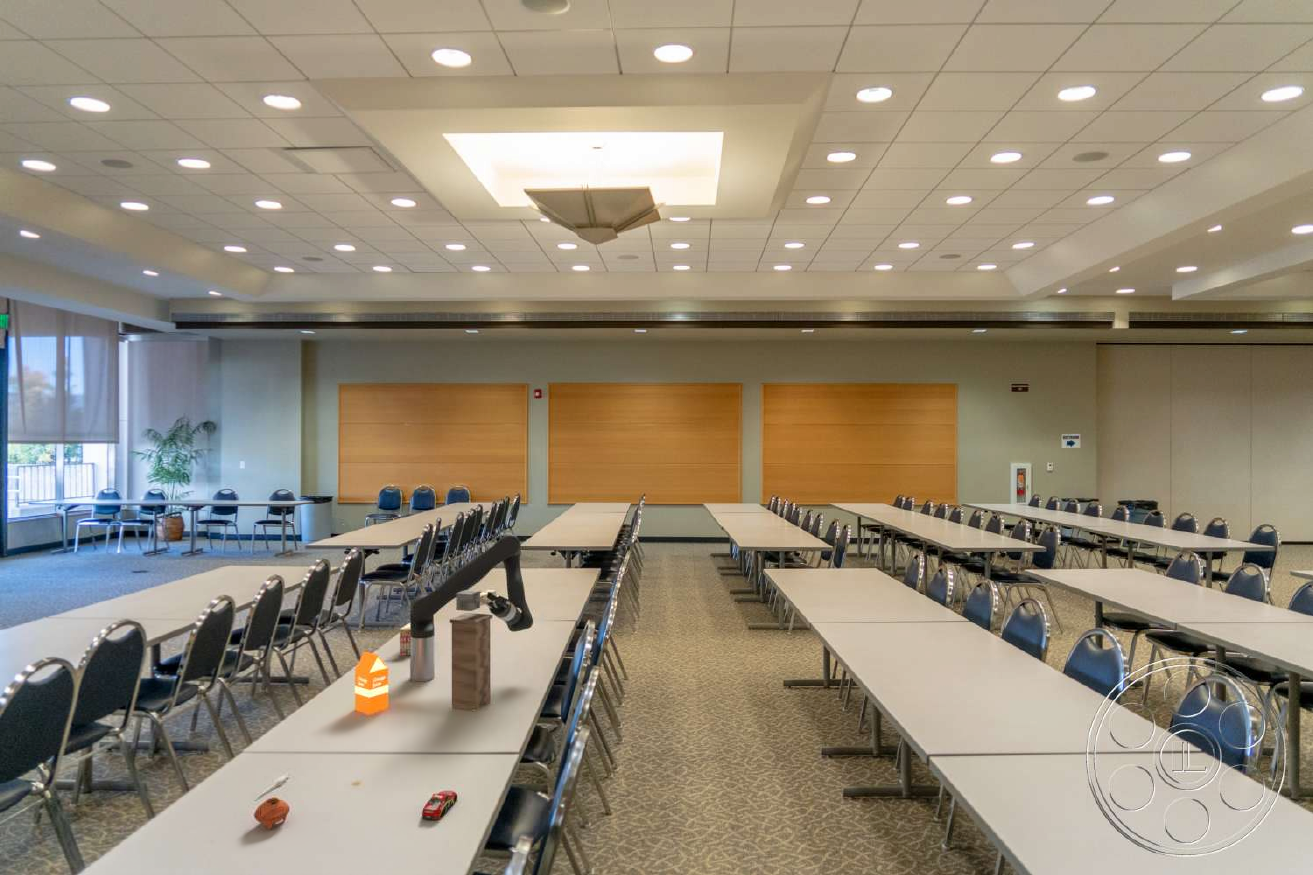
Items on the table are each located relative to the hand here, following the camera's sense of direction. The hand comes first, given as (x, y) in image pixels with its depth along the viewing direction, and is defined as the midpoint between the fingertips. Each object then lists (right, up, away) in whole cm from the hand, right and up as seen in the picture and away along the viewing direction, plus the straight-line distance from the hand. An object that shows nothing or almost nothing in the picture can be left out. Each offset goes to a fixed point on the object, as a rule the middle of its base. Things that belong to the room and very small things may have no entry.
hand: (483, 594), depth 285 cm
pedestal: (-3, -39, -8) cm, 40 cm away
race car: (+8, -39, -87) cm, 95 cm away
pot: (-32, -39, -95) cm, 107 cm away
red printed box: (-47, -40, +67) cm, 91 cm away
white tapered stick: (-41, -39, -74) cm, 94 cm away
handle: (-1, -3, -3) cm, 5 cm away
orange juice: (-38, -39, -12) cm, 55 cm away
